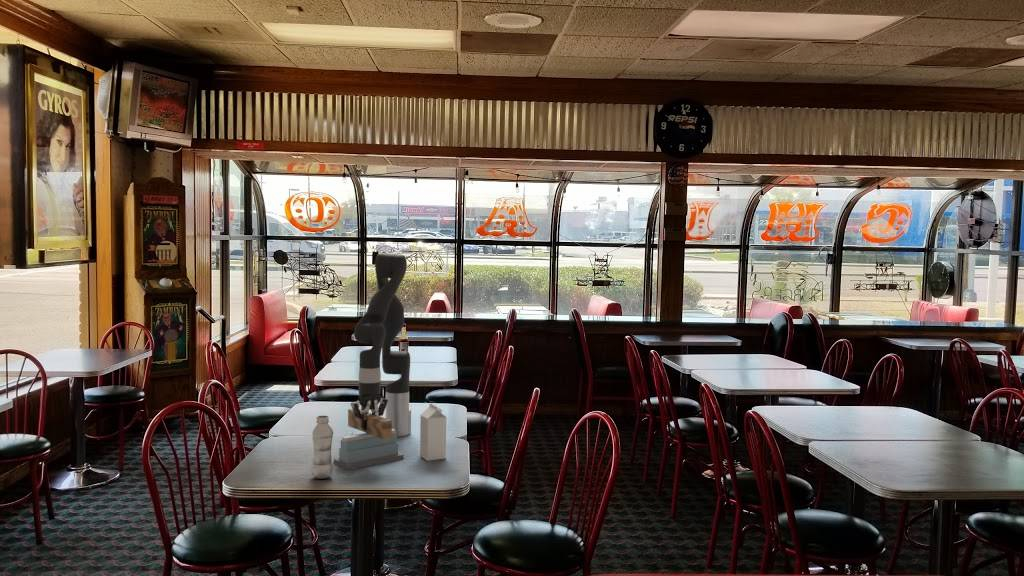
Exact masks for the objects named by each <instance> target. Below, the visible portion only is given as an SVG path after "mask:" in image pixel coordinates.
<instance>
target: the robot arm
mask: <svg viewBox="0 0 1024 576" xmlns="http://www.w3.org/2000/svg"><path fill="white" fill-rule="evenodd" d="M407 263H408V261H407V257H406V256H405V255H404V254H399V253H390V252H379V253H378V254H377V255H376V257H375V263H374V264H375V265H374V267H375V277H376V284H377V289H378V290H377V291H376V292H375V293H374V294H373V295H372V297H371V298H370V301H369V304H368V305H367V310H366V312H365V313H364V314H363V315H362V317H361V318H360V319H359V321H358V323H357V324H356V325H355V328H354V332H353V335H354V339H355V340H356V341H357V343H359V344H372V346H371V348H369V349H364V350H361V351H360V353H359V368H358V369H359V370H358V399H357V400H356V401H354V402H353V401H352V402H351V403H350V406H351V409H353V411H354V414H355V417H356V418H359V419H361V429H362V430H364V431H366V430H367V420H366V419H367V414H368V412H369V413H370V411H371V413H372V414H374V415H377V416H380V417H383V416H384V413H385V418H386V419H389V420H392V429H394V430H396V434H397V438H399V437H400V438H401V437H406V436H408V435H410V434H412V410H411V409H410V373H411V355H410V352H409V351H407V350H404V351H403V350H391V347H392V345H393V343H394V341H395V339H396V338H397V336H398V335H399V333H401V330H403V327H404V325H405V309H404V308H405V307H404V305H403V303H402V301H401V299H400V298H399V297H398V295H396V293H397V291H398V290H399V287H400V285H401V283H402V281H403V279H404V278H405V276H406V271H407V268H408V264H407ZM381 365H382V370H383V371H382V372H383V373H384V374H386V375H400V378H398V379H397V380H394V381H391V382H388V383H387V384H386V385H385V398H384V397H382V396H381V391H382V390H381V389H382V388H381V385H382V384H381V383H382V381H381V380H382V379H381V378H382V372H381ZM359 409H360V410H359ZM360 411H361V413H360Z"/></svg>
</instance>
